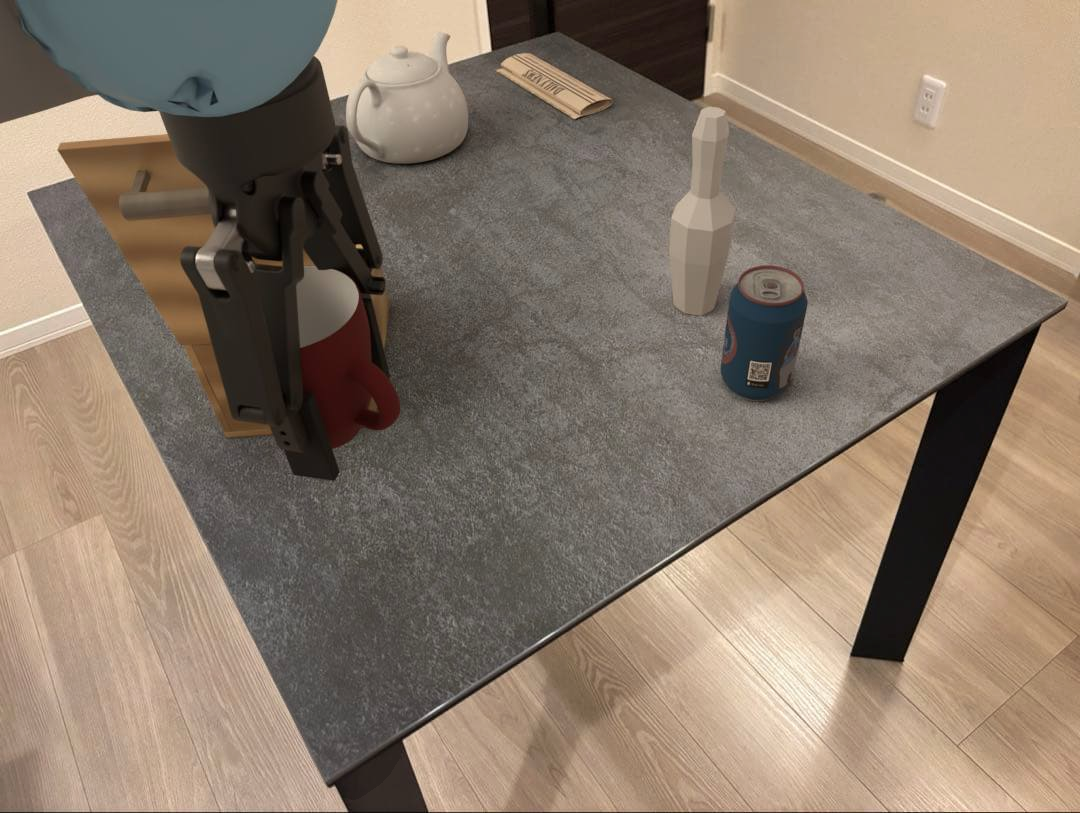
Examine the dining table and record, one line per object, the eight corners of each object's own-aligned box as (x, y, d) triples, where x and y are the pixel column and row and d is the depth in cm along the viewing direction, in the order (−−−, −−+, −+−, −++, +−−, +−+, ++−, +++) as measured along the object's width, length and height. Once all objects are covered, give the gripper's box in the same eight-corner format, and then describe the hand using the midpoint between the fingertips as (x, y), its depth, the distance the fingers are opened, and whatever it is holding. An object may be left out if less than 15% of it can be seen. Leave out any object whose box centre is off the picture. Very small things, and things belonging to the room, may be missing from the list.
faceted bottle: (706, 327, 89) (727, 134, 73) (655, 307, 92) (665, 118, 76) (734, 297, 92) (759, 106, 77) (684, 279, 95) (699, 92, 80)
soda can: (721, 355, 85) (733, 258, 77) (791, 362, 84) (811, 264, 76) (716, 402, 81) (729, 303, 72) (790, 410, 79) (811, 310, 71)
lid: (59, 142, 56) (38, 191, 53) (274, 125, 56) (264, 173, 53) (182, 339, 73) (170, 385, 70) (347, 326, 73) (342, 371, 70)
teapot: (343, 127, 128) (321, 37, 119) (457, 105, 132) (446, 15, 122) (360, 183, 116) (338, 87, 106) (487, 157, 119) (477, 62, 109)
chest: (263, 314, 95) (231, 226, 87) (390, 304, 95) (369, 215, 87) (226, 438, 81) (183, 346, 73) (374, 426, 81) (348, 333, 73)
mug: (448, 412, 54) (424, 289, 47) (382, 503, 49) (345, 380, 42) (315, 373, 58) (275, 253, 51) (241, 454, 52) (185, 333, 45)
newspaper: (612, 106, 128) (612, 95, 127) (574, 120, 126) (574, 108, 124) (531, 60, 143) (530, 49, 141) (496, 71, 140) (495, 61, 139)
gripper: (188, 187, 29) (333, 565, 45) (394, -11, 44) (449, 328, 59) (8, 173, 31) (210, 544, 46) (264, -14, 45) (352, 317, 61)
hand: (344, 422), depth 53 cm, fingers closed on mug, 8 cm apart
